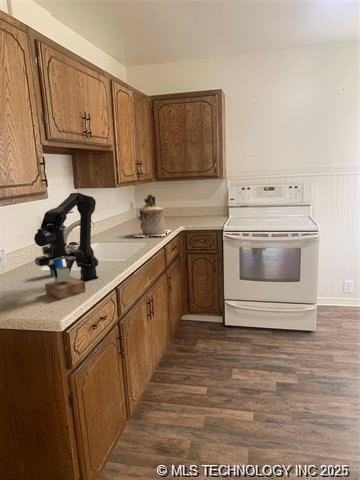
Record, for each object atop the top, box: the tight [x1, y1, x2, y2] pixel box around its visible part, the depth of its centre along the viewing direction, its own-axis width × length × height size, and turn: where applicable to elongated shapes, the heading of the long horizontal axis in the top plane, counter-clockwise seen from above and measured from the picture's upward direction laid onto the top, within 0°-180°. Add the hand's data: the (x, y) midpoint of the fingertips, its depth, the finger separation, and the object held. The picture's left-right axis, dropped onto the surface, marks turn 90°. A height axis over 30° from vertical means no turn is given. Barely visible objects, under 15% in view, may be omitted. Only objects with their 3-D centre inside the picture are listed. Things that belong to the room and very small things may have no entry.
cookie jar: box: [133, 193, 172, 238], centre depth 272 cm, size 25×25×32 cm
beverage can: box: [47, 255, 64, 277], centre depth 178 cm, size 6×6×12 cm
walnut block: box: [44, 276, 87, 301], centre depth 150 cm, size 12×12×5 cm
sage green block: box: [53, 265, 71, 282], centre depth 149 cm, size 5×5×5 cm
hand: (62, 277), depth 149 cm, fingers closed on sage green block, 5 cm apart
